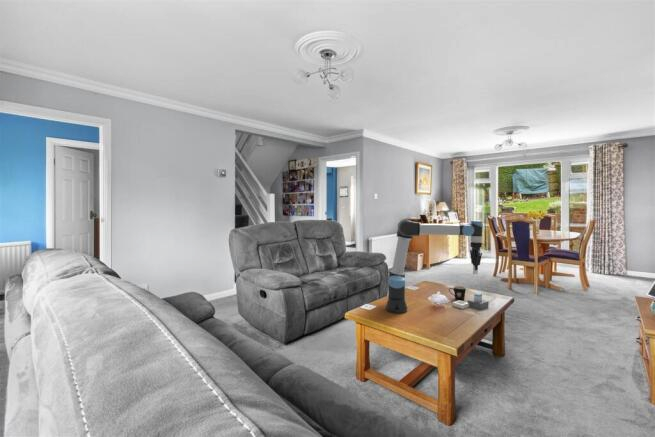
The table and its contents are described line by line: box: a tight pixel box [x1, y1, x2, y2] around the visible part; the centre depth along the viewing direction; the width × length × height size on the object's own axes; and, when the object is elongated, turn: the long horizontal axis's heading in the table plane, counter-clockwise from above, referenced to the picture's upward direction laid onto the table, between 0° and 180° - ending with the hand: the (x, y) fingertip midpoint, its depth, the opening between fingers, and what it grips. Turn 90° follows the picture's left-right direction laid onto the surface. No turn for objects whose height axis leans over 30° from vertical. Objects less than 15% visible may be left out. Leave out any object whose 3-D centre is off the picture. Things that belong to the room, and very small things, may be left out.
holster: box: [452, 300, 470, 310], centre depth 228 cm, size 8×8×4 cm
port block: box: [467, 297, 489, 310], centre depth 228 cm, size 10×10×5 cm
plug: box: [473, 292, 483, 302], centre depth 228 cm, size 4×4×10 cm
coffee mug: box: [448, 285, 467, 301], centre depth 246 cm, size 12×9×10 cm
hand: (475, 274), depth 227 cm, fingers closed
